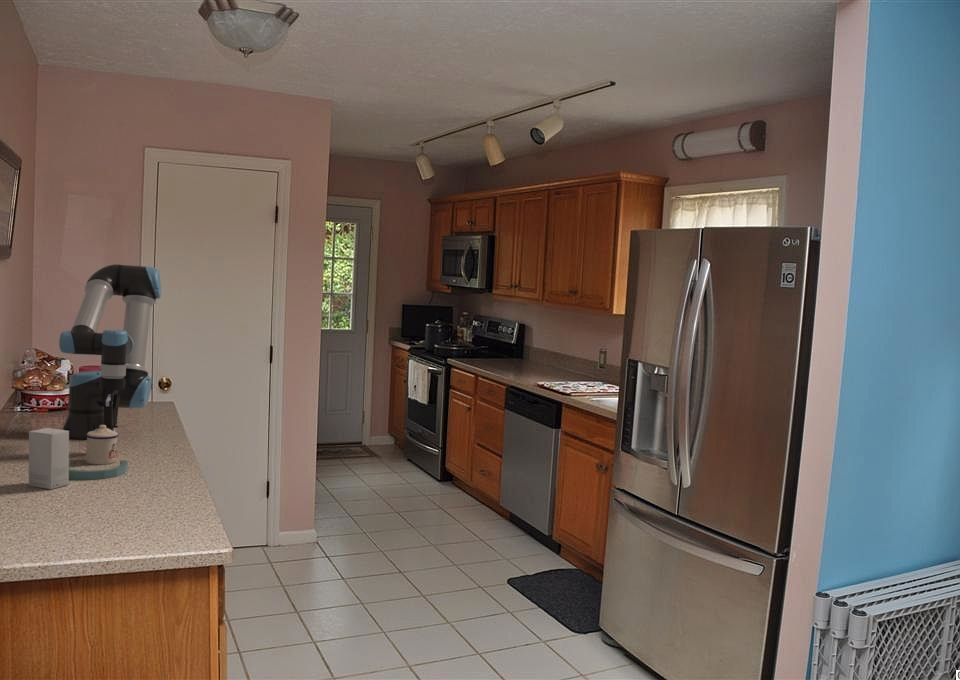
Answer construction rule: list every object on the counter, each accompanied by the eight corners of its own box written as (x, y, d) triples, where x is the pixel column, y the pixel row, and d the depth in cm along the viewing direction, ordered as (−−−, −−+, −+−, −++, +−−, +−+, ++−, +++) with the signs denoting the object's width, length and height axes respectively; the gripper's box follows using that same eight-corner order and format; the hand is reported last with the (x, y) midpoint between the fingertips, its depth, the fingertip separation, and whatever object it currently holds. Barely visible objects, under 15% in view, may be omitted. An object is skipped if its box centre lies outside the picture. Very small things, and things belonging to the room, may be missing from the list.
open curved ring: (59, 465, 241) (60, 458, 241) (130, 467, 246) (130, 459, 246) (43, 479, 226) (44, 470, 226) (119, 480, 230) (119, 472, 230)
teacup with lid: (114, 465, 247) (116, 428, 246) (82, 465, 244) (84, 427, 244) (119, 456, 259) (121, 421, 258) (89, 456, 256) (90, 420, 255)
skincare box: (69, 485, 222) (71, 430, 221) (49, 490, 215) (51, 434, 214) (46, 481, 224) (48, 426, 223) (25, 485, 218) (28, 430, 217)
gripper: (105, 374, 265) (101, 443, 266) (95, 378, 252) (92, 451, 254) (129, 375, 267) (125, 444, 268) (120, 379, 254) (117, 452, 255)
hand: (109, 447), depth 261 cm, fingers closed
